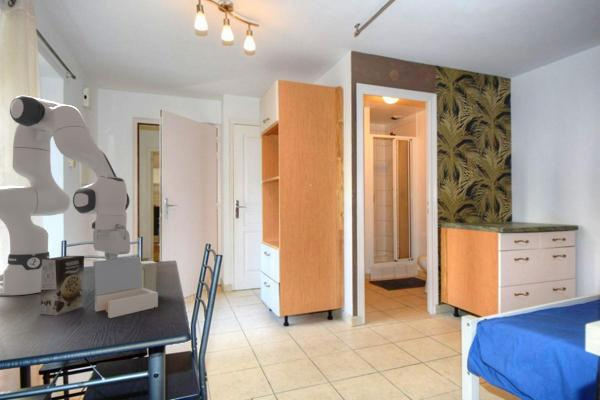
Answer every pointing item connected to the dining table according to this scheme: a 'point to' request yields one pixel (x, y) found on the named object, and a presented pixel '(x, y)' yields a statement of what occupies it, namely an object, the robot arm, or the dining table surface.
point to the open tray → (126, 301)
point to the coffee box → (61, 284)
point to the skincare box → (149, 275)
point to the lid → (117, 275)
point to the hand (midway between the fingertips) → (111, 265)
